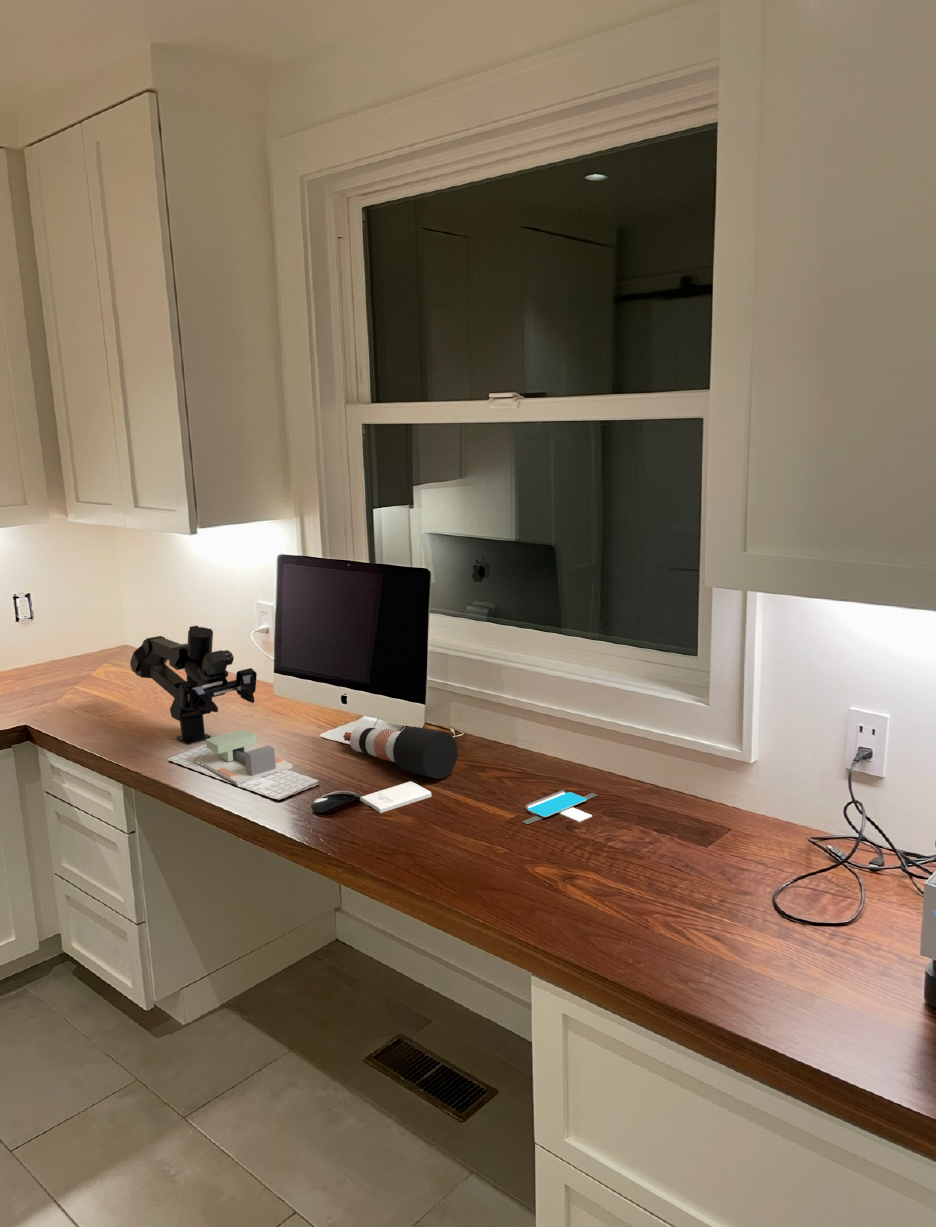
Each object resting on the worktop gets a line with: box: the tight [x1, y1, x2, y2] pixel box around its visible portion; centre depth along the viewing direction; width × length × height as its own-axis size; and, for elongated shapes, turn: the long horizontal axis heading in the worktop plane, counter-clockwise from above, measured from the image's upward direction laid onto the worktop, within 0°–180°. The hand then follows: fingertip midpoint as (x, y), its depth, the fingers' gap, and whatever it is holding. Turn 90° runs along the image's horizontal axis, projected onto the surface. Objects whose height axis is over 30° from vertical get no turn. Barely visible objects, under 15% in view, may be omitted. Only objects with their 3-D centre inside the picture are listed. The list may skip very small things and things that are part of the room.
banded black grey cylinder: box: [342, 726, 459, 779], centre depth 212 cm, size 10×34×10 cm, turn 44°
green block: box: [205, 728, 258, 761], centre depth 218 cm, size 6×10×4 cm, turn 132°
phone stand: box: [522, 789, 598, 825], centre depth 184 cm, size 20×12×2 cm, turn 130°
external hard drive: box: [359, 780, 432, 814], centre depth 193 cm, size 2×8×12 cm
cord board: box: [195, 744, 293, 785], centre depth 214 cm, size 20×14×6 cm
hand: (235, 705), depth 213 cm, fingers open, 9 cm apart
